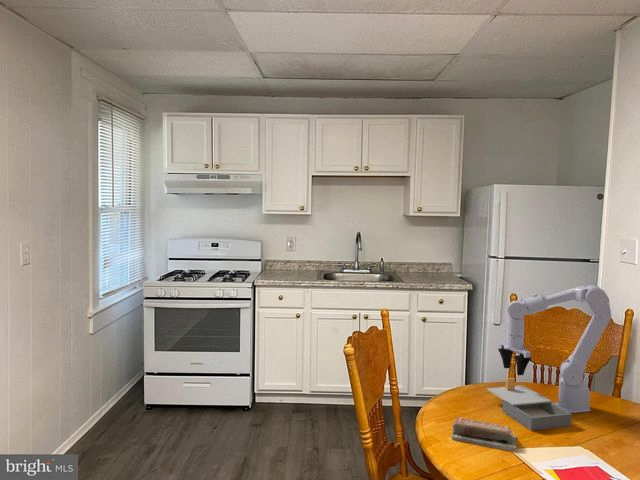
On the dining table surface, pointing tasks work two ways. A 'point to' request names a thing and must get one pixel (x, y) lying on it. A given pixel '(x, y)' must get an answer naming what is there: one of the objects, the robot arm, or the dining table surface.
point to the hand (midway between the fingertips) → (513, 371)
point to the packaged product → (483, 434)
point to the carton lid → (518, 394)
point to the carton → (538, 415)
